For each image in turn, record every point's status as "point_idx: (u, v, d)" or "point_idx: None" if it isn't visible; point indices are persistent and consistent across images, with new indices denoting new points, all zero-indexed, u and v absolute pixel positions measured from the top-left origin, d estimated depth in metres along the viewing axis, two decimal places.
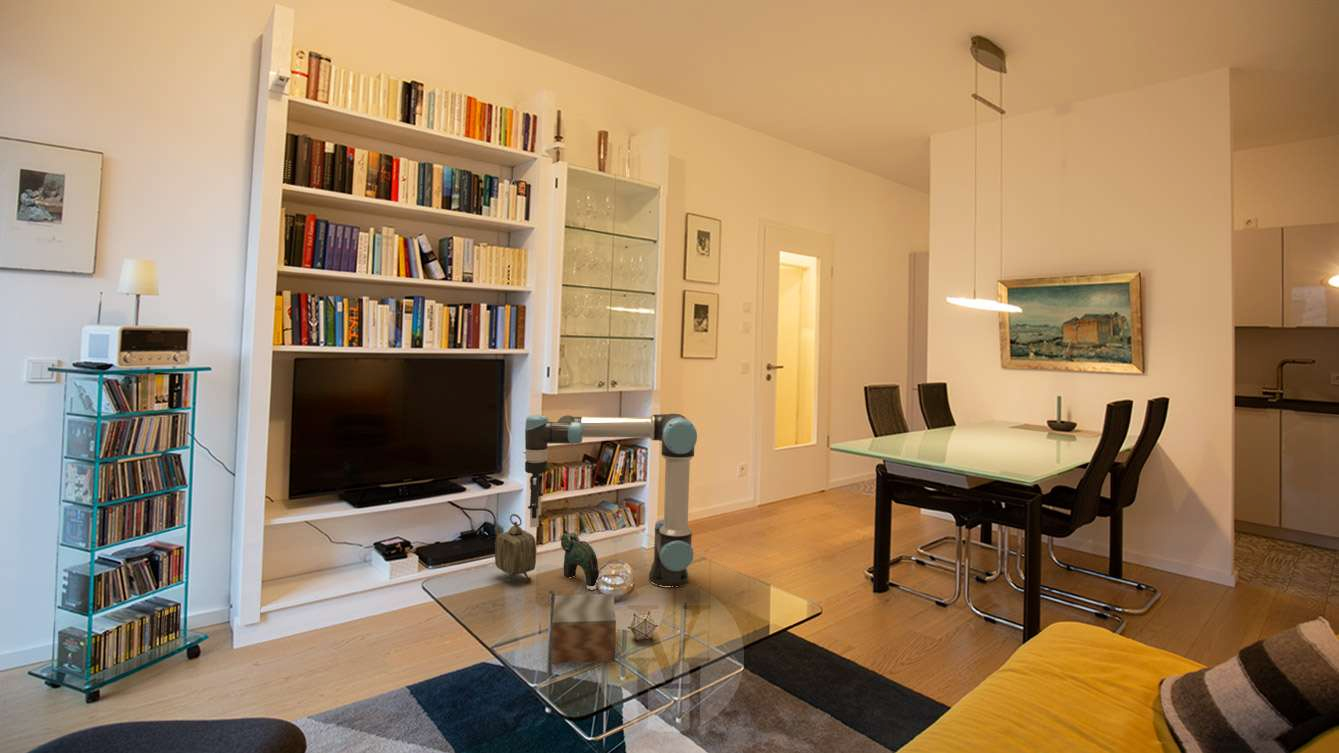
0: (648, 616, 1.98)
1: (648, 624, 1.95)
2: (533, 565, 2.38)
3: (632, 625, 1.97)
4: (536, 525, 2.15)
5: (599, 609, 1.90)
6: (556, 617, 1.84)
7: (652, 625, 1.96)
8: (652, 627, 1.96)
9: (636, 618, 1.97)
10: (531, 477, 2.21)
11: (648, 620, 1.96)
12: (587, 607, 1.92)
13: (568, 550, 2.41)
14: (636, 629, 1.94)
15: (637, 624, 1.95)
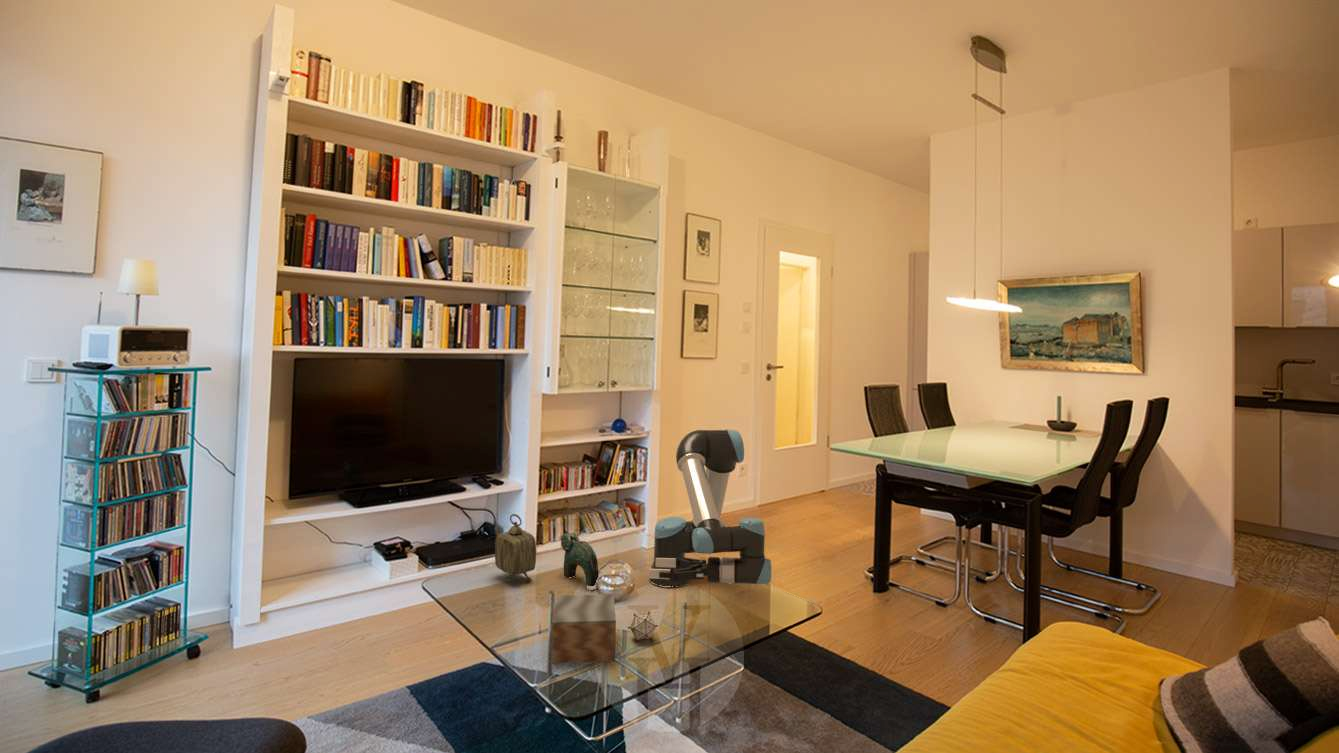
0: (648, 616, 1.98)
1: (648, 624, 1.95)
2: (533, 565, 2.38)
3: (632, 625, 1.97)
4: None
5: (599, 609, 1.90)
6: (556, 617, 1.84)
7: (652, 625, 1.96)
8: (652, 627, 1.96)
9: (636, 618, 1.97)
10: None
11: (648, 620, 1.96)
12: (587, 607, 1.92)
13: (568, 550, 2.41)
14: (636, 629, 1.94)
15: (637, 624, 1.95)
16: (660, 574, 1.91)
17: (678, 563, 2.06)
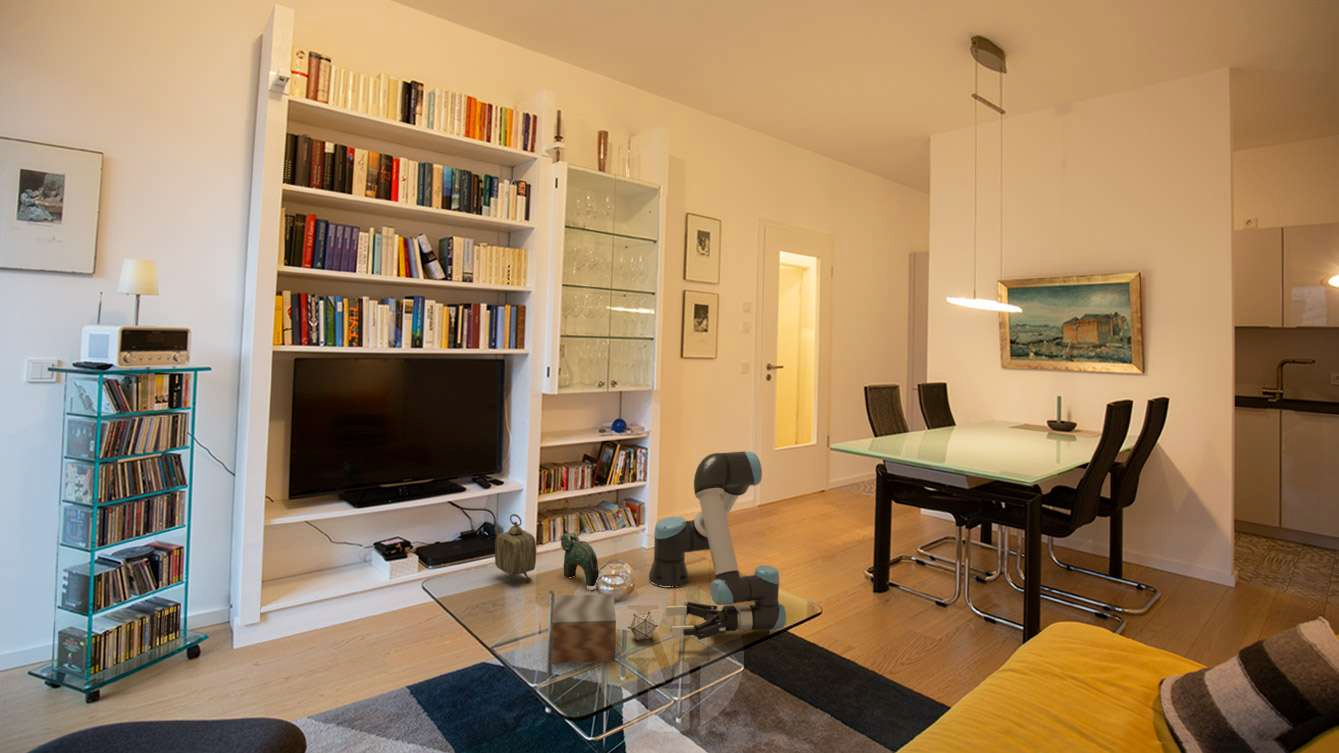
0: (648, 616, 1.98)
1: (648, 624, 1.95)
2: (533, 565, 2.38)
3: (632, 625, 1.97)
4: None
5: (599, 609, 1.90)
6: (556, 617, 1.84)
7: (652, 625, 1.96)
8: (652, 627, 1.96)
9: (636, 618, 1.97)
10: None
11: (648, 620, 1.96)
12: (587, 607, 1.92)
13: (568, 550, 2.41)
14: (636, 629, 1.94)
15: (637, 624, 1.95)
16: (685, 632, 1.90)
17: (688, 610, 2.06)
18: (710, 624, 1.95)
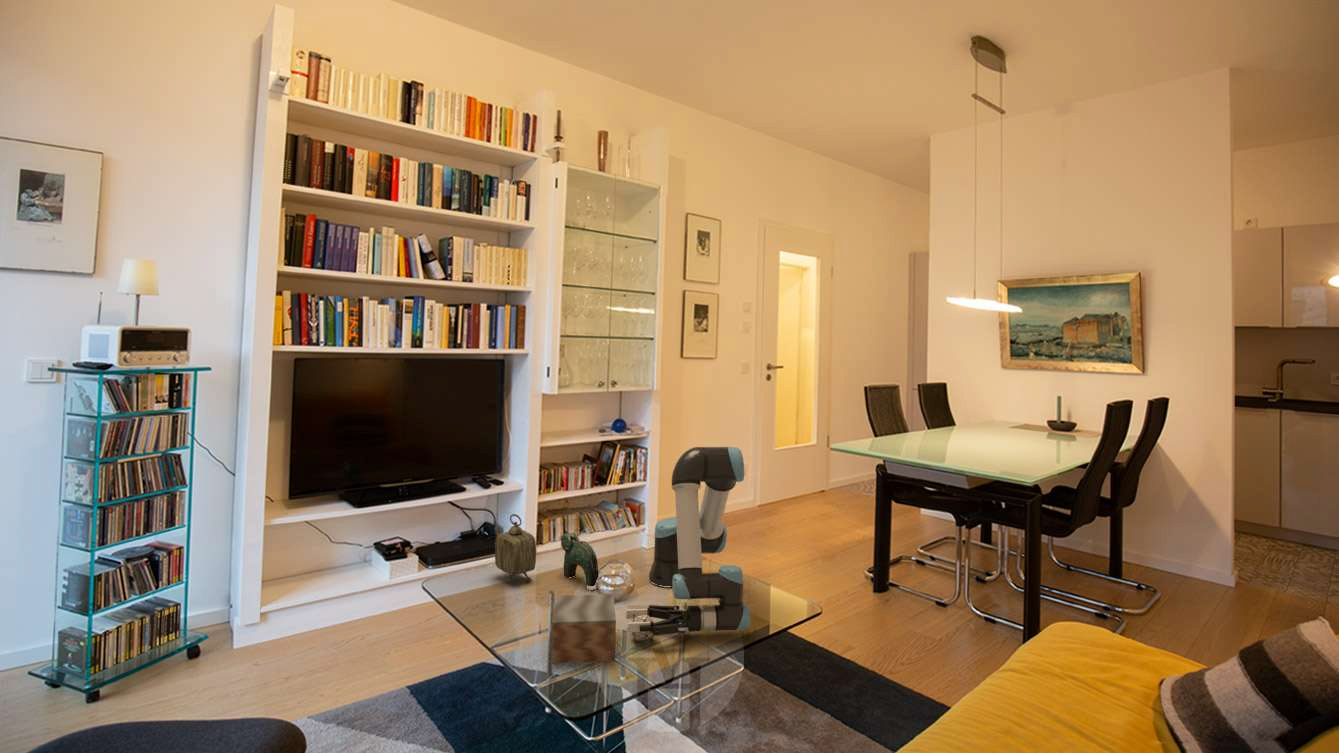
0: (647, 616, 1.97)
1: None
2: (533, 565, 2.38)
3: None
4: None
5: (599, 609, 1.90)
6: (556, 617, 1.84)
7: None
8: None
9: (635, 619, 1.96)
10: None
11: (648, 621, 1.96)
12: (587, 607, 1.92)
13: (568, 550, 2.41)
14: None
15: None
16: (641, 628, 1.92)
17: (650, 613, 2.03)
18: (670, 623, 1.95)
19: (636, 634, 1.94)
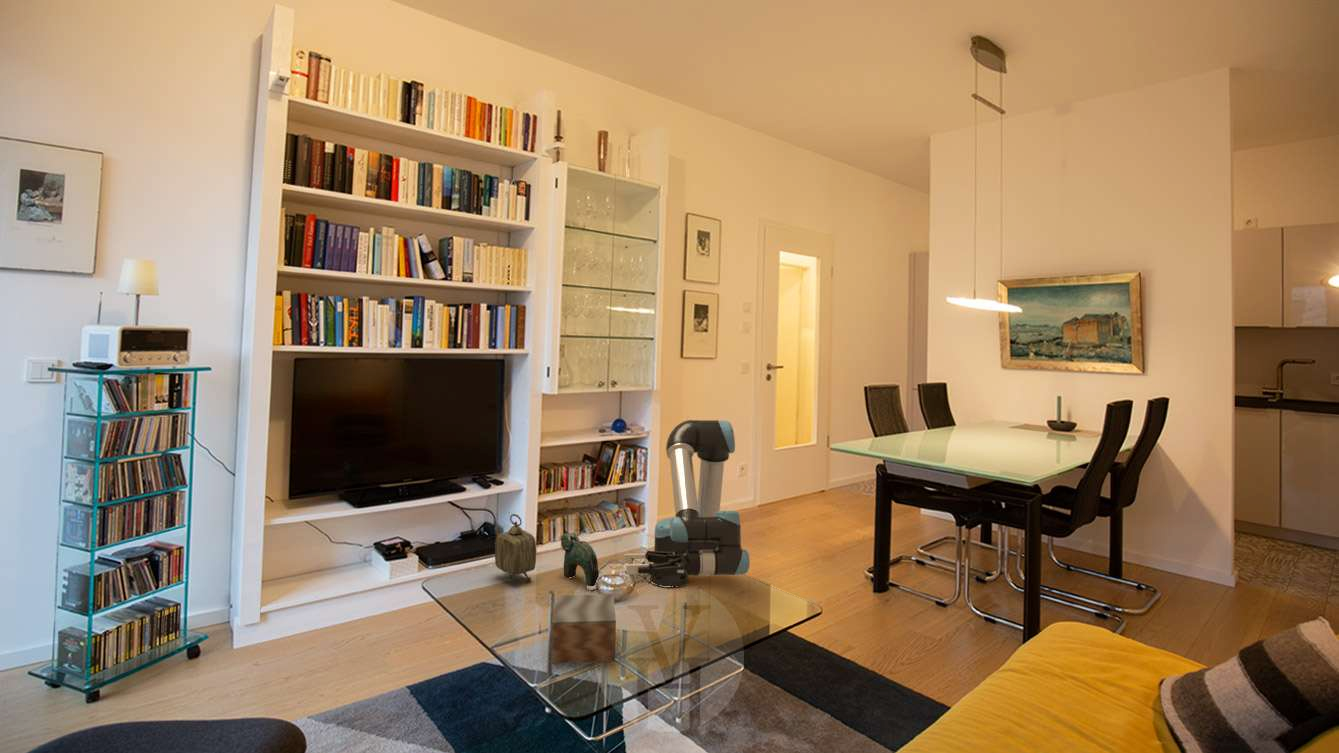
0: (646, 560, 1.95)
1: None
2: (533, 565, 2.38)
3: None
4: None
5: (599, 609, 1.90)
6: (556, 617, 1.84)
7: None
8: None
9: (634, 562, 1.94)
10: None
11: None
12: (587, 607, 1.92)
13: (568, 550, 2.41)
14: None
15: None
16: (639, 570, 1.89)
17: (648, 558, 2.00)
18: (669, 566, 1.93)
19: (634, 577, 1.92)
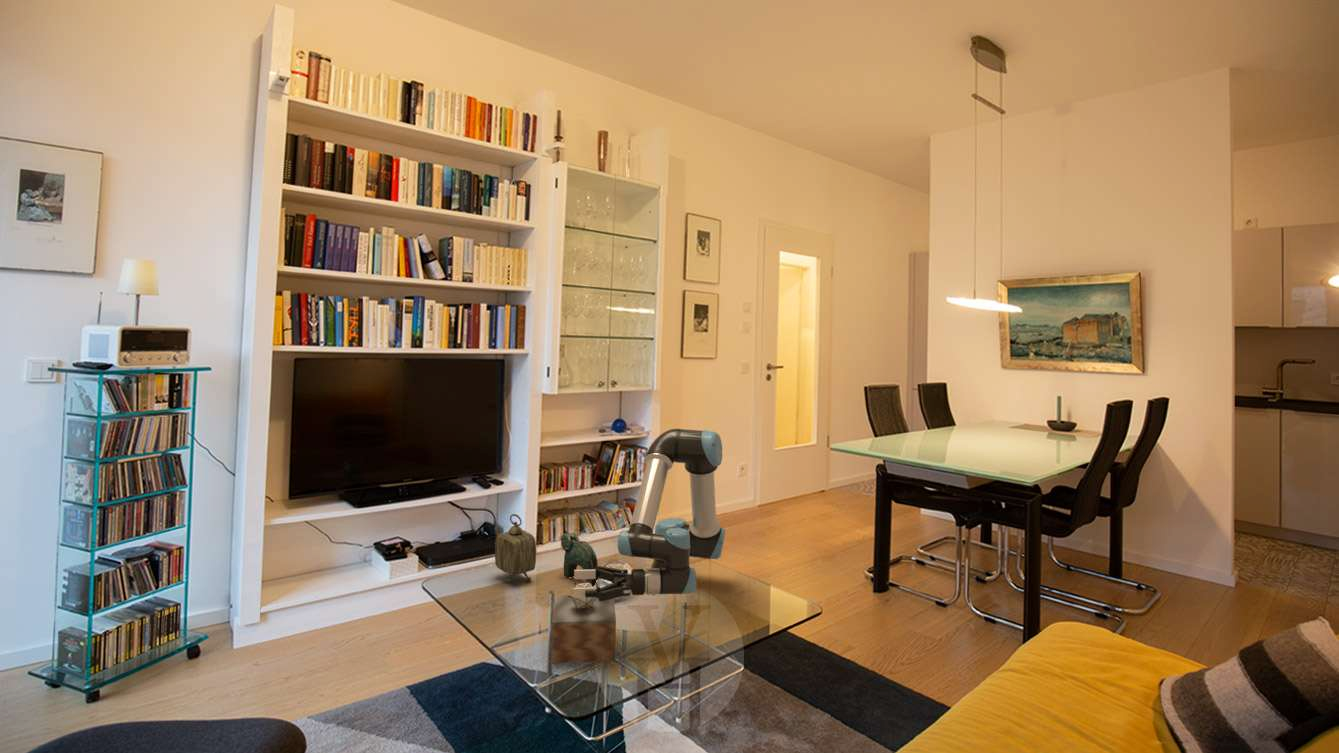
0: (589, 584, 1.91)
1: None
2: (533, 565, 2.38)
3: (572, 594, 1.90)
4: None
5: (599, 609, 1.90)
6: (556, 617, 1.84)
7: None
8: None
9: (577, 586, 1.90)
10: None
11: None
12: None
13: (568, 550, 2.41)
14: None
15: None
16: (586, 594, 1.83)
17: (598, 574, 1.99)
18: (615, 587, 1.88)
19: (576, 602, 1.88)
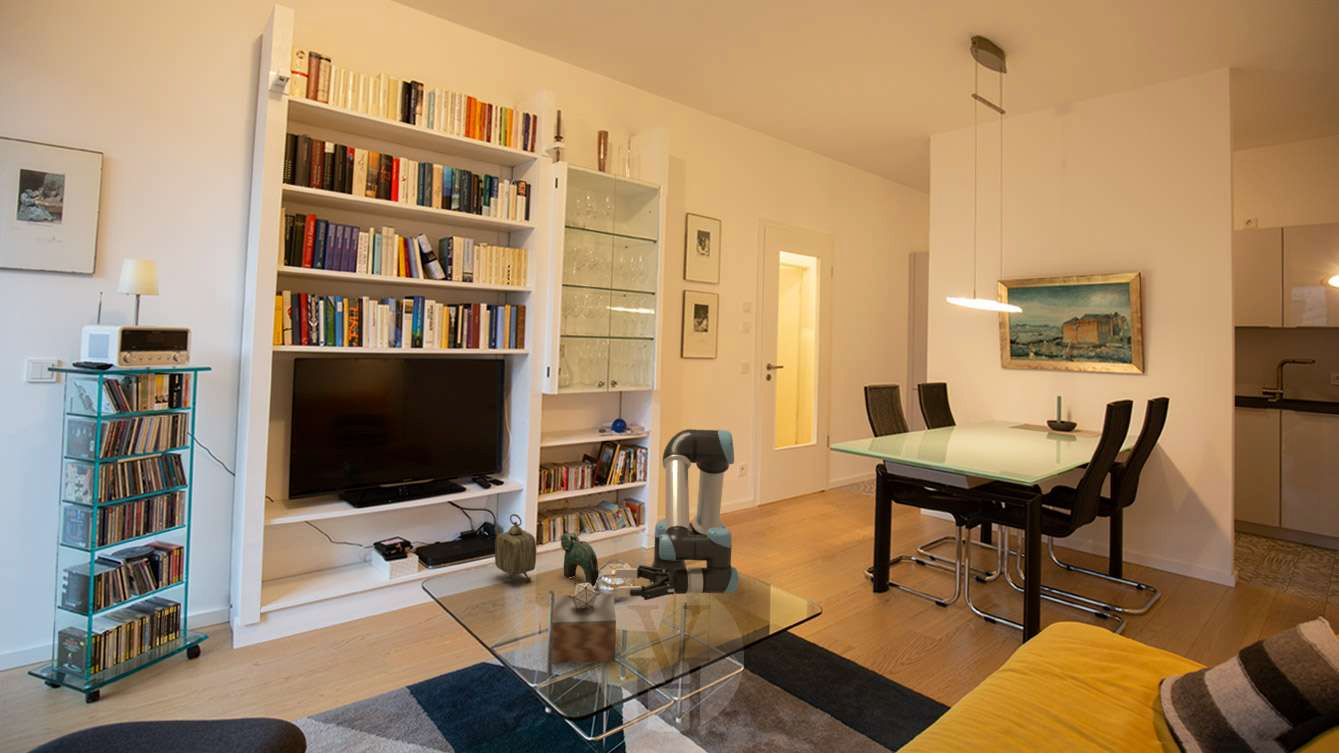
0: (589, 584, 1.91)
1: (589, 592, 1.88)
2: (533, 565, 2.38)
3: (572, 594, 1.90)
4: None
5: (599, 609, 1.90)
6: (556, 617, 1.84)
7: (593, 593, 1.89)
8: (593, 595, 1.89)
9: (577, 586, 1.90)
10: None
11: (589, 589, 1.89)
12: None
13: (568, 550, 2.41)
14: (576, 597, 1.87)
15: (577, 592, 1.88)
16: (631, 592, 1.84)
17: (639, 573, 2.00)
18: (659, 585, 1.89)
19: (576, 602, 1.88)
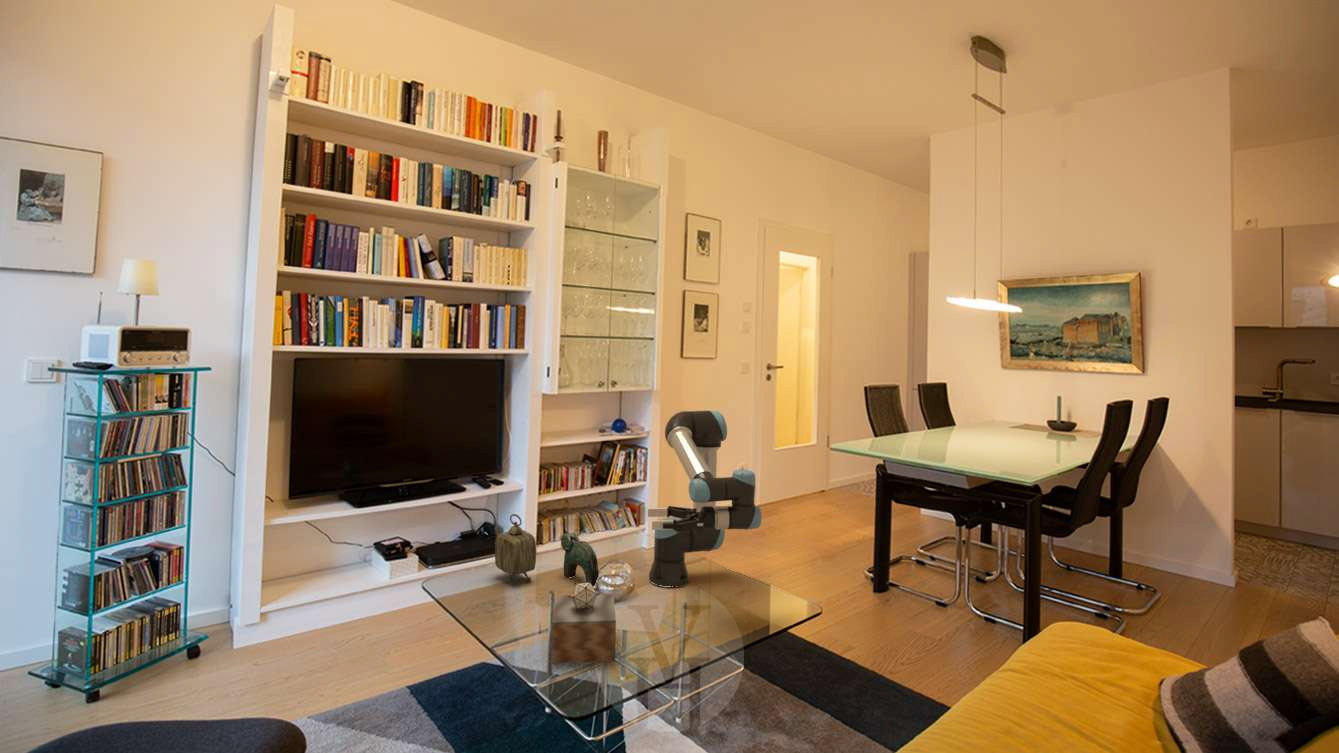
0: (589, 584, 1.91)
1: (589, 592, 1.88)
2: (533, 565, 2.38)
3: (572, 594, 1.90)
4: None
5: (599, 609, 1.90)
6: (556, 617, 1.84)
7: (593, 593, 1.89)
8: (593, 595, 1.89)
9: (577, 586, 1.90)
10: None
11: (589, 589, 1.89)
12: None
13: (568, 550, 2.41)
14: (576, 597, 1.87)
15: (577, 592, 1.88)
16: (664, 525, 2.01)
17: (669, 512, 2.16)
18: (688, 521, 2.06)
19: (576, 602, 1.88)
